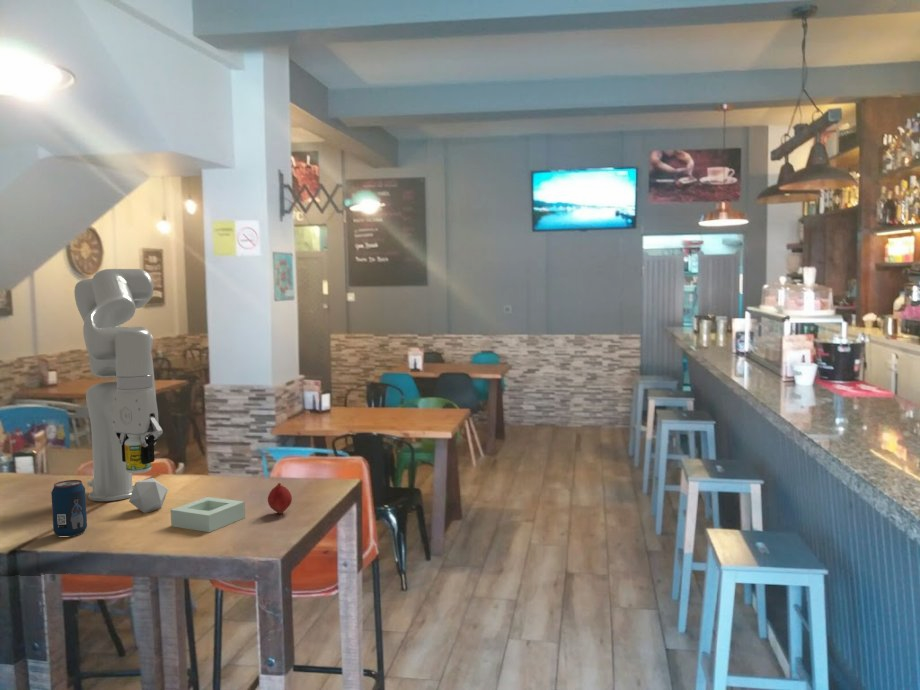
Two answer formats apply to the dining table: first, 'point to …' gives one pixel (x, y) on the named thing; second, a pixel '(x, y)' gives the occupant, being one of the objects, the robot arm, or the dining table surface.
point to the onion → (279, 498)
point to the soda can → (69, 508)
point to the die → (148, 495)
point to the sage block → (207, 514)
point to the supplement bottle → (134, 455)
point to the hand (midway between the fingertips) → (138, 460)
